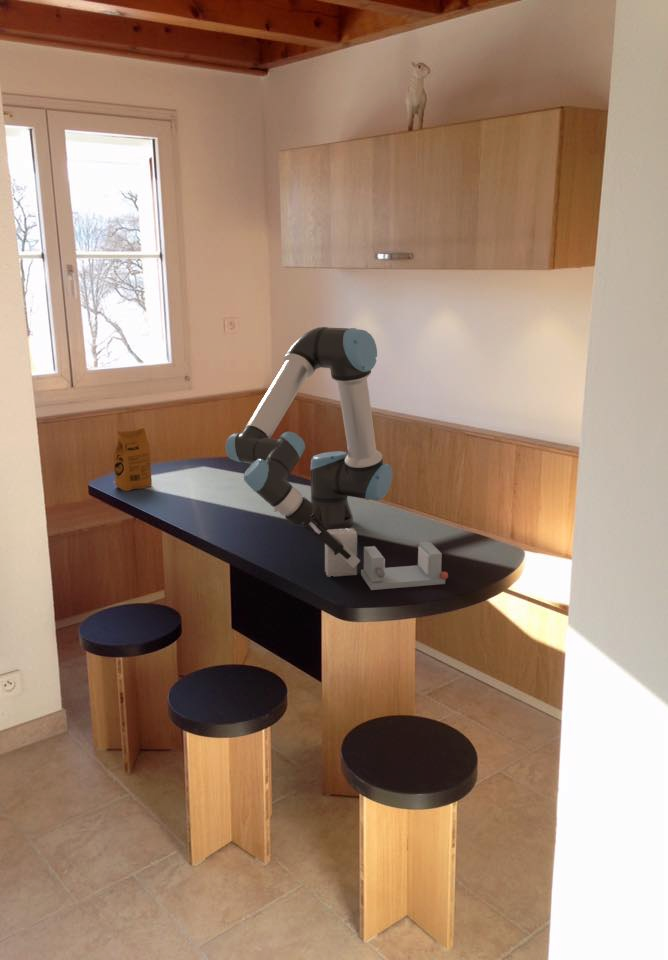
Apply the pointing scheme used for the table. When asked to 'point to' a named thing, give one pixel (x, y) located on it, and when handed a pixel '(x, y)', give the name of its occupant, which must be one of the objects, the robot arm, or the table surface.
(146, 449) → the coffee package
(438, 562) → the vise
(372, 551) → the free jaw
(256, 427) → the robot arm
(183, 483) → the table surface
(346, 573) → the steel block
